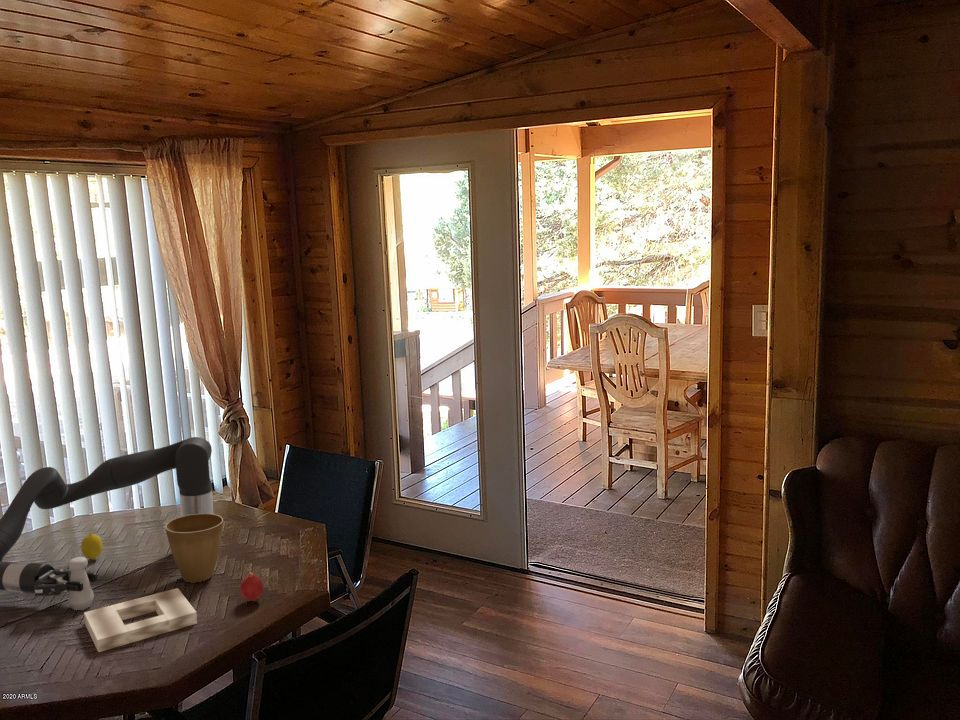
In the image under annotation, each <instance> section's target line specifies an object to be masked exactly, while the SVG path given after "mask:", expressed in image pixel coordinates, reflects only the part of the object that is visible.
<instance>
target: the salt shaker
mask: <svg viewBox="0 0 960 720" xmlns="http://www.w3.org/2000/svg"><path fill="white" fill-rule="evenodd" d="M88 561H89V560H88V558H86V557H85V556H78V557H74V558H71V559H70V560H69V561H68V564H67V568H68V567H69V569H70V570H71V578H69V580H70V581H74V582H82V583H83V590H82V591H68V599H67V601H68V604H69V606H70V608H71V609H72V610H73V609H74V610H73V611H75V610H76V612H78V611H77V610H81V611H84V610H83V609H86V608H87V609H89V608H91V607H90V606H92V604H93V601H94V599H95V598H94V597H95V594H94V591H93V588H92V586H91V582H90V581H89V579H88V576H87V573H86V572H87V566H88V565H89V564H88ZM85 568H86V570H85ZM88 607H89V608H88ZM87 609H86V610H87Z"/></svg>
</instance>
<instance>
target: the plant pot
mask: <svg viewBox="0 0 960 720" xmlns="http://www.w3.org/2000/svg"><path fill="white" fill-rule="evenodd" d="M223 525H224V518H223V517H222V516H221V515H219V514H215V513H214V514H192V515H186V516H182V517H181V516H179V517H176V518H173V519H171V520H170V521H168V522H167V523H166V524H165V527H164V528H165V532H166V536H167V541H168V544H169V548H170V550H171V551H170V552H171V554H172V557H173V559H174V563H175V565H176V567H177V569H178V572H179V573H180V576H181V578H182V579H183V581H184V582H185V583H188V582H190V583H189V584H197V583H196V582H199V583H203V582H206V581H208V580H210V579H211V578H212V577H211V576H213V574H214V571H215V568H216V564H217V561H218V556H219V552H220V549H221V542H222V541H221V540H222V535H223V527H224V526H223ZM210 577H211V578H210ZM209 578H210V579H209ZM207 579H208V580H207ZM205 580H206V581H205ZM202 581H203V582H202Z"/></svg>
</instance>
